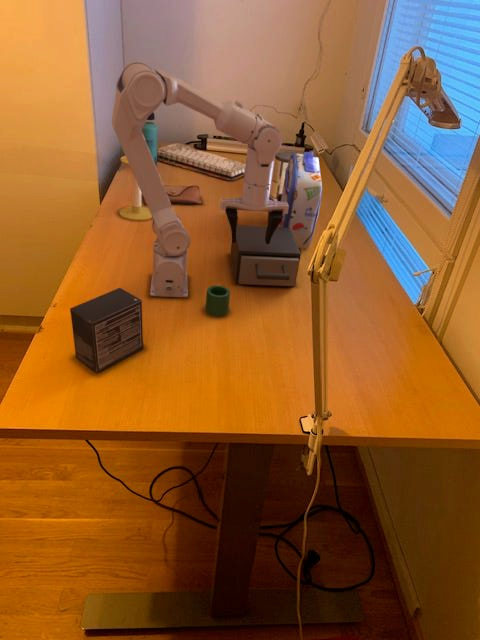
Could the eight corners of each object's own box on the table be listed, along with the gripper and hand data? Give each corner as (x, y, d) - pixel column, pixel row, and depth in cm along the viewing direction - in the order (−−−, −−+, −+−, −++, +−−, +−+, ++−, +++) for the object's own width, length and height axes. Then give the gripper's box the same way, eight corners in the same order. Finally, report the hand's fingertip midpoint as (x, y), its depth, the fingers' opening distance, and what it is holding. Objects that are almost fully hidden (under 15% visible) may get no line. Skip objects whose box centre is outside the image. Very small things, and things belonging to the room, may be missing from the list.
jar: (229, 317, 101) (231, 297, 98) (205, 316, 100) (207, 296, 98) (227, 305, 105) (229, 285, 102) (204, 304, 104) (206, 284, 102)
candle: (161, 213, 143) (163, 92, 125) (139, 223, 135) (137, 96, 118) (135, 204, 147) (133, 85, 129) (111, 213, 139) (106, 89, 121)
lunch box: (274, 214, 151) (285, 141, 139) (307, 218, 151) (321, 145, 139) (273, 253, 128) (287, 169, 116) (313, 258, 128) (330, 175, 116)
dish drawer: (299, 298, 108) (304, 272, 105) (241, 296, 107) (244, 269, 103) (284, 259, 124) (288, 235, 120) (233, 256, 122) (236, 232, 119)
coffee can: (291, 192, 171) (298, 150, 163) (305, 203, 163) (312, 160, 155) (264, 193, 167) (270, 150, 159) (277, 204, 159) (283, 160, 151)
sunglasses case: (144, 203, 147) (143, 180, 146) (143, 207, 153) (142, 185, 153) (203, 204, 151) (203, 182, 151) (199, 208, 158) (199, 186, 158)
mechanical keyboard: (255, 170, 187) (256, 161, 185) (230, 182, 173) (231, 173, 171) (174, 149, 201) (174, 140, 199) (145, 158, 186) (145, 149, 184)
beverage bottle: (136, 169, 173) (135, 109, 162) (154, 169, 176) (154, 109, 165) (141, 175, 169) (140, 114, 158) (160, 175, 171) (160, 114, 160)
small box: (121, 333, 93) (119, 285, 87) (145, 348, 90) (144, 299, 84) (73, 357, 86) (67, 306, 80) (97, 374, 82) (93, 323, 77)
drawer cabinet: (294, 286, 115) (301, 253, 110) (235, 283, 113) (238, 250, 108) (284, 257, 127) (289, 227, 122) (230, 255, 125) (233, 224, 120)
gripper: (287, 177, 107) (278, 235, 114) (221, 173, 105) (216, 232, 112) (294, 188, 101) (284, 248, 109) (224, 184, 99) (219, 246, 107)
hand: (250, 241), depth 110 cm, fingers open, 7 cm apart
